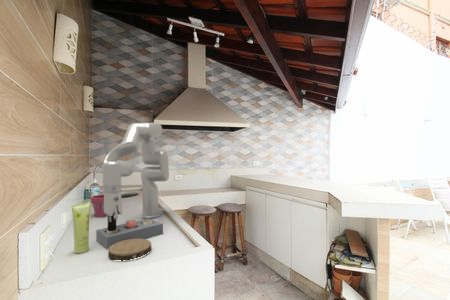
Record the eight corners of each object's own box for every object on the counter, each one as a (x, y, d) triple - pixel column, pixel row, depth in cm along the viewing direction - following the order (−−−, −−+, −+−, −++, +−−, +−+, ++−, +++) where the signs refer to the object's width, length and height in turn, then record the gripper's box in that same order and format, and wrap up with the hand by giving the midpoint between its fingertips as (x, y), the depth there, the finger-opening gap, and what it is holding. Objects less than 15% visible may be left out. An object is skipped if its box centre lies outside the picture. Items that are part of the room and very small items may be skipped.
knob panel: (149, 227, 125) (149, 218, 125) (163, 233, 115) (163, 223, 115) (96, 241, 106) (96, 230, 106) (107, 249, 96) (107, 237, 97)
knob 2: (149, 228, 120) (149, 220, 120) (153, 230, 117) (153, 222, 117) (141, 231, 117) (141, 222, 117) (145, 233, 114) (145, 223, 114)
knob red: (133, 228, 114) (133, 219, 114) (137, 230, 111) (137, 221, 111) (124, 230, 111) (124, 221, 111) (128, 232, 108) (128, 223, 108)
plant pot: (119, 214, 154) (119, 195, 155) (98, 219, 142) (98, 198, 143) (107, 211, 162) (107, 193, 162) (86, 216, 150) (86, 196, 150)
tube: (85, 253, 93) (85, 204, 93) (71, 254, 92) (71, 205, 92) (90, 248, 98) (90, 201, 99) (77, 249, 97) (77, 202, 97)
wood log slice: (104, 252, 95) (104, 244, 95) (143, 242, 104) (143, 235, 104) (113, 266, 82) (113, 258, 82) (157, 254, 92) (157, 246, 92)
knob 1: (115, 237, 108) (115, 227, 108) (119, 239, 105) (119, 229, 105) (105, 240, 105) (105, 230, 105) (108, 242, 101) (108, 232, 102)
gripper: (127, 189, 102) (127, 231, 102) (114, 187, 113) (114, 225, 112) (109, 191, 97) (109, 236, 97) (97, 188, 108) (97, 228, 107)
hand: (111, 230), depth 104 cm, fingers closed
